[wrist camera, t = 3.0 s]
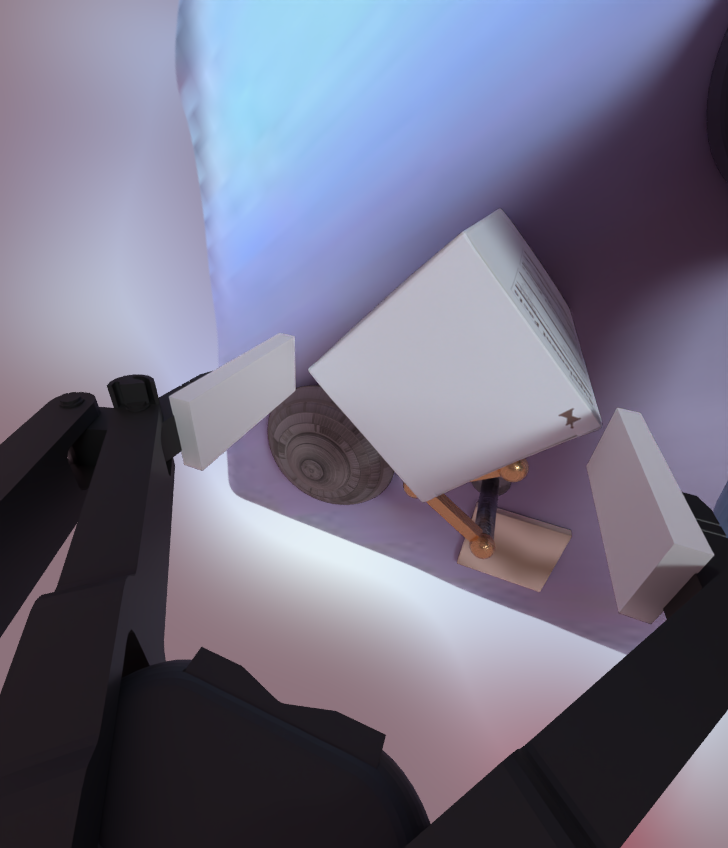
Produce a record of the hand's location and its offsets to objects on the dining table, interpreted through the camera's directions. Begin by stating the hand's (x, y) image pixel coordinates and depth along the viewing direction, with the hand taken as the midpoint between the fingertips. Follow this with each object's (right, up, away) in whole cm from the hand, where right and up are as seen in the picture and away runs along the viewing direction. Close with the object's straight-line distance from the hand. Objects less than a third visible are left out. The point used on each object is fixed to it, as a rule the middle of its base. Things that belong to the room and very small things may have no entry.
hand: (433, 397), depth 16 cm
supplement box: (+6, +8, +14) cm, 17 cm away
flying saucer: (-6, -3, +26) cm, 27 cm away
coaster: (+13, -14, +24) cm, 31 cm away
